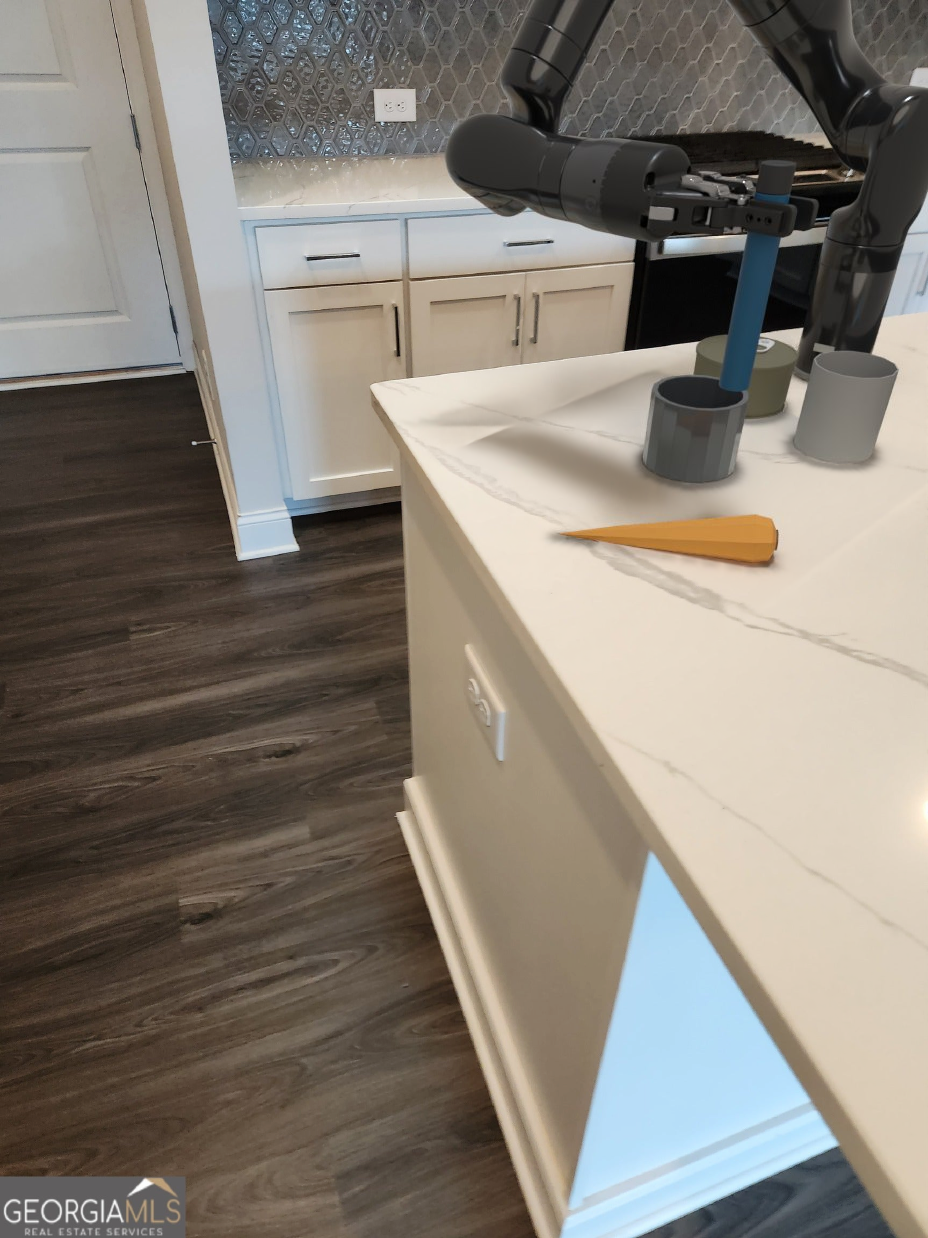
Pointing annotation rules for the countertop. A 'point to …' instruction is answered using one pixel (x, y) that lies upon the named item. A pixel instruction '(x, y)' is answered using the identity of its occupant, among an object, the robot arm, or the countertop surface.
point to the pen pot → (693, 428)
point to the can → (754, 372)
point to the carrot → (697, 536)
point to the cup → (844, 406)
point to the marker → (754, 282)
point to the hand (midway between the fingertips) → (802, 218)
